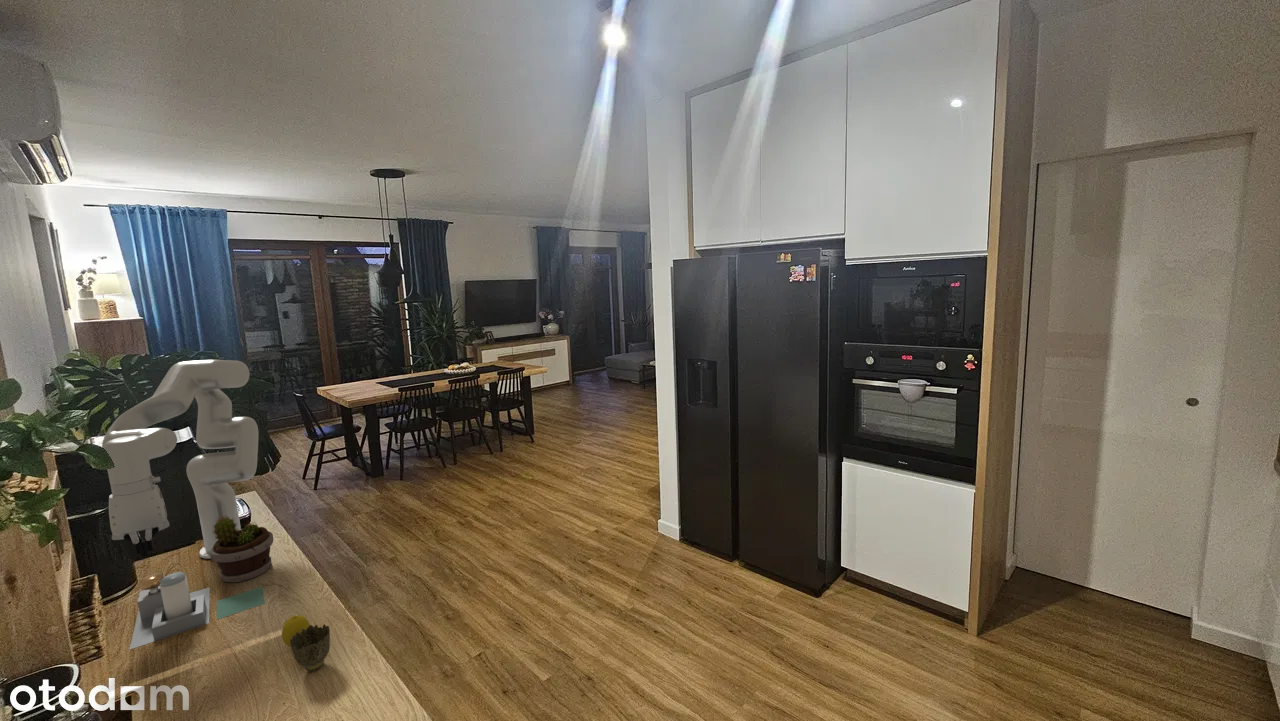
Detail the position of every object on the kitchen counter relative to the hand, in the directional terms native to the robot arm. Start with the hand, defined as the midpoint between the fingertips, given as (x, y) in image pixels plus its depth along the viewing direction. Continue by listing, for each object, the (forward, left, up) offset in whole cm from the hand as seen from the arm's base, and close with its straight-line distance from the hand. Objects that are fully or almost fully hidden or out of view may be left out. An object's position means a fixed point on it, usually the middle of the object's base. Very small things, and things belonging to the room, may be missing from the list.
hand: (146, 554), depth 136 cm
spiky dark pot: (+49, +29, -17) cm, 60 cm away
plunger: (0, 0, -13) cm, 13 cm away
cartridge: (+10, +5, -16) cm, 19 cm away
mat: (+10, +17, -17) cm, 26 cm away
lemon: (+39, +27, -17) cm, 51 cm away
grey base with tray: (+6, +3, -16) cm, 18 cm away
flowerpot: (-7, +19, -17) cm, 26 cm away
